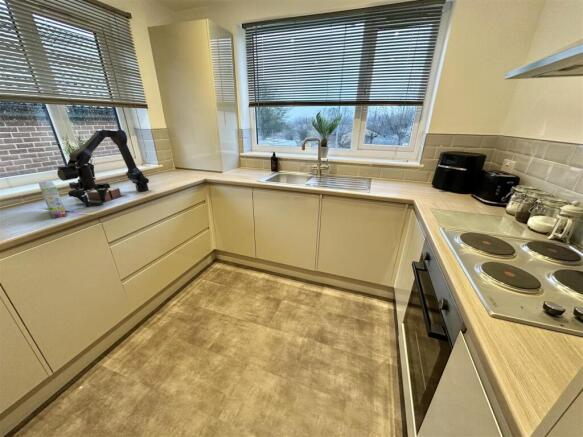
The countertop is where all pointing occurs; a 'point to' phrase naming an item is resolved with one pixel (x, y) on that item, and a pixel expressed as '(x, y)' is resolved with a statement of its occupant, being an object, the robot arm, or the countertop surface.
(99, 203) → the knife
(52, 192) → the snack box
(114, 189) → the sheet cake
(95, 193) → the cake slice
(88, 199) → the cake board
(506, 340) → the countertop surface
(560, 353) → the countertop surface
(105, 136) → the robot arm
